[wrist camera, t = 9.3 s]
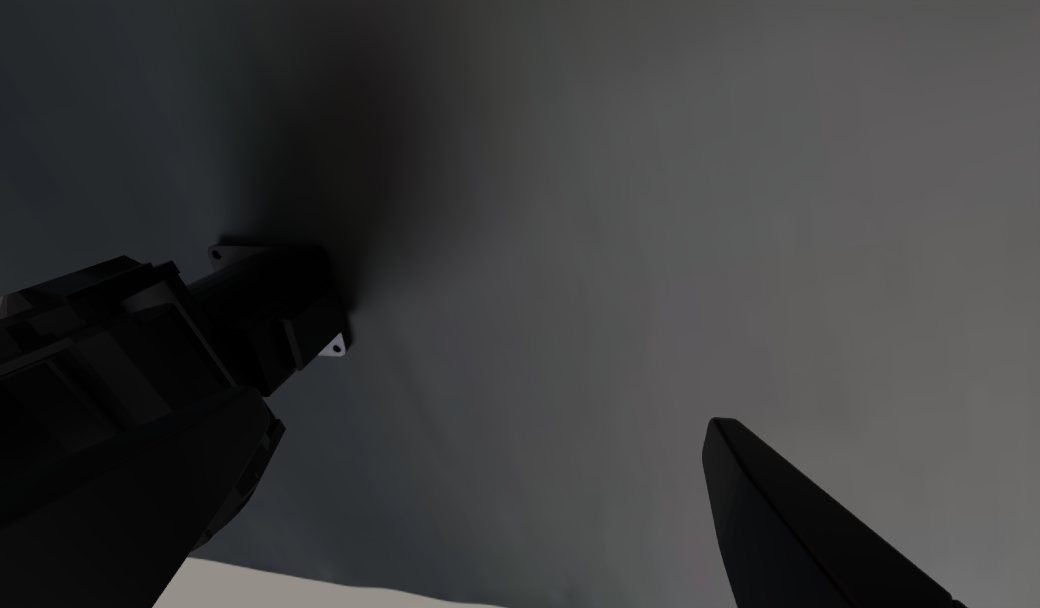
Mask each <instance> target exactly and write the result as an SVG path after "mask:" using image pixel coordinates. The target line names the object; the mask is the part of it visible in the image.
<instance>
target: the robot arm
mask: <svg viewBox="0 0 1040 608" xmlns="http://www.w3.org/2000/svg"><path fill="white" fill-rule="evenodd" d="M218 252H219V253H220V254H221V256H220V255H219V253H218ZM313 252H314V253H316V254H317V255H318V259H317V258H316V257H314V255H313ZM208 256H209V258H210V261H211V264H212V267H213V269H214V272H215V273H212V274H210V275H208V276H206V277H204V278H202V279H200V280H198V281H195V282H193V283H191V284H189V285H187V286H186V285H185V284H184V282H183V281H182V279H181V278H180V276H179V275H178V273H180V271H179V270H178V268H177V267H176V265H175V264H174V262H173V261H172V260H171V261H168V262H165V263H162V264H159V265H156V266H152V264H151V263H146V264H145V263H144V264H141V263H139V262H137V261H135V260H133V259H131V258H129V257H127V256H125V255H123V256H121V257H118V258H115V259H112V260H109V261H106V262H103V263H100V264H97V265H94V266H91V267H88V268H85V269H82V270H79V271H76V272H73V273H70V274H67V275H64V276H62V277H59V278H56V279H53V280H50V281H47V282H44V283H41V284H38V285H35V286H32V287H29V288H26V289H23V290H20V291H17V292H14V293H11V294H8V295H5V296H2V297H1V298H0V608H152V607H153V606H154V604H155V603H156V601H157V600H158V598H159V597H160V595H161V594H162V593H163V591H164V590H165V588H166V587H167V585H168V584H169V582H170V581H171V580H172V578H173V577H174V575H175V574H176V572H177V571H178V569H179V568H180V567H181V565H182V564H183V562H184V561H185V559H186V558H187V557H188V555H189V554H190V553H191V552H192V551H194V550H195V549H197V548H199V547H200V546H202V545H204V544H205V543H207V542H208V541H209V540H210V539H211V538H212V536H213V535H214V534H216V533H217V532H218V531H219V530H220V529H222V528H223V527H224V526H225V525H227V524H228V523H229V522H230V521H231V520H232V519H233V518H234V517H235V516H236V515H237V514H238V513H239V512H240V511H241V509H242V508H243V507H244V506H245V505H246V503H247V502H248V501H249V499H250V497H251V496H252V494H253V493H254V491H255V489H256V487H257V485H258V483H259V481H260V479H261V477H262V475H263V473H264V471H265V469H266V467H267V465H268V463H269V461H270V459H271V457H272V455H273V453H274V451H275V449H276V447H277V445H278V443H279V441H280V439H281V437H282V436H283V434H284V432H285V430H286V428H285V426H284V425H283V423H282V422H281V420H280V419H276V417H275V416H274V414H273V413H272V411H271V410H270V409H269V407H268V406H267V404H266V403H265V401H264V400H263V398H262V397H269V396H270V395H271V394H272V393H273V392H274V391H275V390H276V389H277V388H279V387H280V386H281V385H282V384H283V383H284V382H285V381H286V380H287V379H288V378H289V377H290V376H291V375H292V374H293V373H294V372H295V371H296V370H298V371H301V370H303V369H304V368H305V367H306V366H307V365H308V364H309V363H310V362H311V361H312V360H313V359H314V358H315V357H316V356H317V355H324V356H343V355H344V354H345V353H346V352H347V351H348V349H349V344H348V340H347V336H346V332H345V323H344V318H343V314H342V310H341V306H340V302H339V297H338V293H337V289H336V287H335V286H334V282H333V278H332V273H331V269H330V265H329V261H328V257H327V253H326V251H325V250H324V249H323V248H322V247H320V246H317V245H278V244H215V245H213V246H210V247H209V248H208ZM337 345H338V346H340V348H341V349H340V348H338V347H337ZM702 462H703V468H704V473H705V478H706V484H707V489H708V494H709V499H710V504H711V509H712V514H713V519H714V525H715V530H716V535H717V539H718V544H719V548H720V552H721V556H722V559H723V563H724V566H725V569H726V572H727V576H728V579H729V582H730V585H731V588H732V592H733V595H734V598H735V601H736V605H737V608H968V607H966V606H965V605H964V604H963V603H961V602H960V601H959V600H952V596H951V594H950V593H949V592H948V591H946V590H945V589H944V588H943V587H942V586H940V585H939V584H938V583H937V582H935V581H934V580H933V579H932V578H931V577H929V576H928V575H927V574H926V573H924V572H923V571H922V570H921V569H920V568H918V567H917V566H916V565H915V564H913V563H912V562H911V561H910V560H908V559H907V558H906V557H905V556H904V555H902V554H901V553H900V552H899V551H897V550H896V549H895V548H894V547H893V546H891V545H890V544H889V543H888V542H886V541H885V540H884V539H883V538H882V537H880V536H879V535H878V534H877V533H875V532H874V531H873V530H872V529H870V528H869V527H868V526H867V525H866V524H864V523H863V522H862V521H861V520H859V519H858V518H857V517H856V516H855V515H853V514H852V513H851V512H850V511H848V510H847V509H846V508H845V507H844V506H842V505H841V504H840V503H839V502H837V501H836V500H835V499H834V498H832V497H831V496H830V495H829V494H828V493H826V492H825V491H824V490H823V489H821V488H820V487H819V486H818V485H817V484H815V483H814V482H813V481H812V480H810V479H809V478H808V477H807V476H806V475H804V474H803V473H802V472H801V471H799V470H798V469H797V468H796V467H794V466H793V465H792V464H791V463H790V462H788V461H787V460H786V459H785V458H783V457H782V456H781V455H780V454H779V453H777V452H776V451H775V450H774V449H772V448H771V447H770V446H769V445H768V444H766V443H765V442H764V441H763V440H761V439H760V438H759V437H758V436H756V435H755V434H754V433H753V432H752V431H750V430H749V429H748V428H747V427H745V426H744V425H743V424H742V423H741V422H739V421H738V420H736V419H733V418H720V417H714V418H712V419H711V420H710V421H709V424H708V428H707V433H706V437H705V442H704V446H703V451H702Z"/></svg>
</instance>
